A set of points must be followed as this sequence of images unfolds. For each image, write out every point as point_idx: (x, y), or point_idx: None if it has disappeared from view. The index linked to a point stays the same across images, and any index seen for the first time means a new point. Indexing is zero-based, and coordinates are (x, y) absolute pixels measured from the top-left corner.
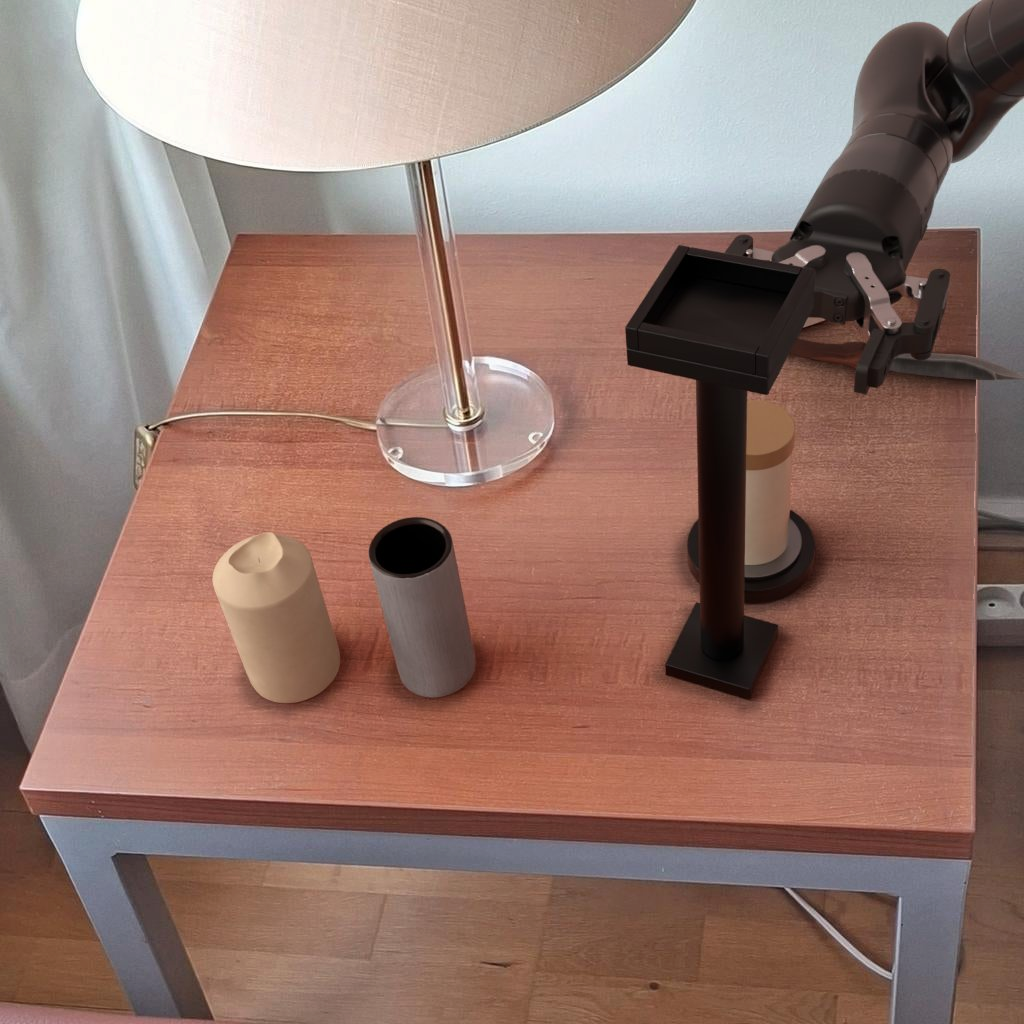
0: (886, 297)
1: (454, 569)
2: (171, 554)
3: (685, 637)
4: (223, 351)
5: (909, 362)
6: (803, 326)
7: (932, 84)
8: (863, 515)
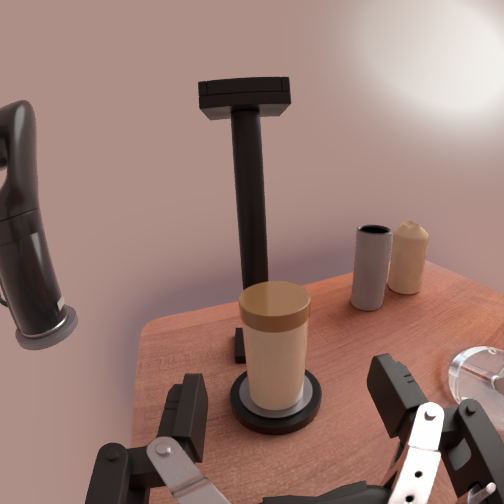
0: (177, 492)
1: (359, 242)
2: (475, 290)
3: None
4: None
5: None
6: None
7: None
8: (209, 457)
